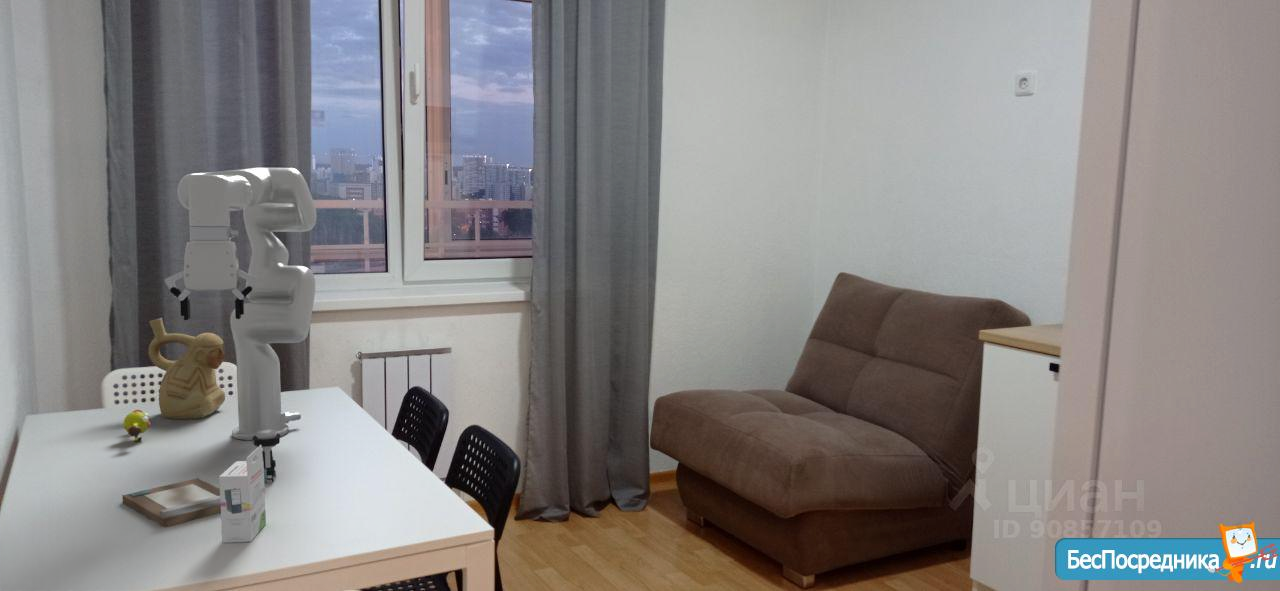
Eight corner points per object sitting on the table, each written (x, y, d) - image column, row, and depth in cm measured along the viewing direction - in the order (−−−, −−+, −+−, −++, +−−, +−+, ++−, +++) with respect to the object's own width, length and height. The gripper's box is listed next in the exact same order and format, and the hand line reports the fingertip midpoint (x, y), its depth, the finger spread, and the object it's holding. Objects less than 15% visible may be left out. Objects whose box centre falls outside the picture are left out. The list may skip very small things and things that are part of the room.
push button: (283, 483, 186) (281, 435, 185) (254, 486, 184) (253, 437, 183) (281, 473, 192) (279, 427, 191) (253, 477, 190) (251, 429, 189)
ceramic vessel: (212, 422, 231) (208, 324, 228) (134, 421, 232) (129, 322, 229) (242, 406, 248) (238, 314, 245) (169, 405, 248) (165, 313, 245)
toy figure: (150, 449, 208) (148, 419, 208) (122, 451, 206) (120, 422, 205) (152, 429, 224) (151, 402, 224) (126, 431, 222) (125, 404, 221)
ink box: (238, 524, 164) (234, 443, 162) (266, 524, 164) (264, 443, 163) (220, 543, 155) (216, 458, 154) (250, 543, 156) (247, 458, 154)
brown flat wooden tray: (198, 485, 184) (197, 472, 184) (241, 506, 173) (241, 492, 173) (122, 503, 174) (122, 489, 174) (164, 527, 162) (163, 512, 162)
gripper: (257, 235, 195) (259, 315, 196) (166, 234, 190) (169, 317, 191) (254, 236, 188) (256, 320, 189) (159, 236, 182) (162, 322, 184)
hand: (213, 318), depth 190 cm, fingers open, 9 cm apart
